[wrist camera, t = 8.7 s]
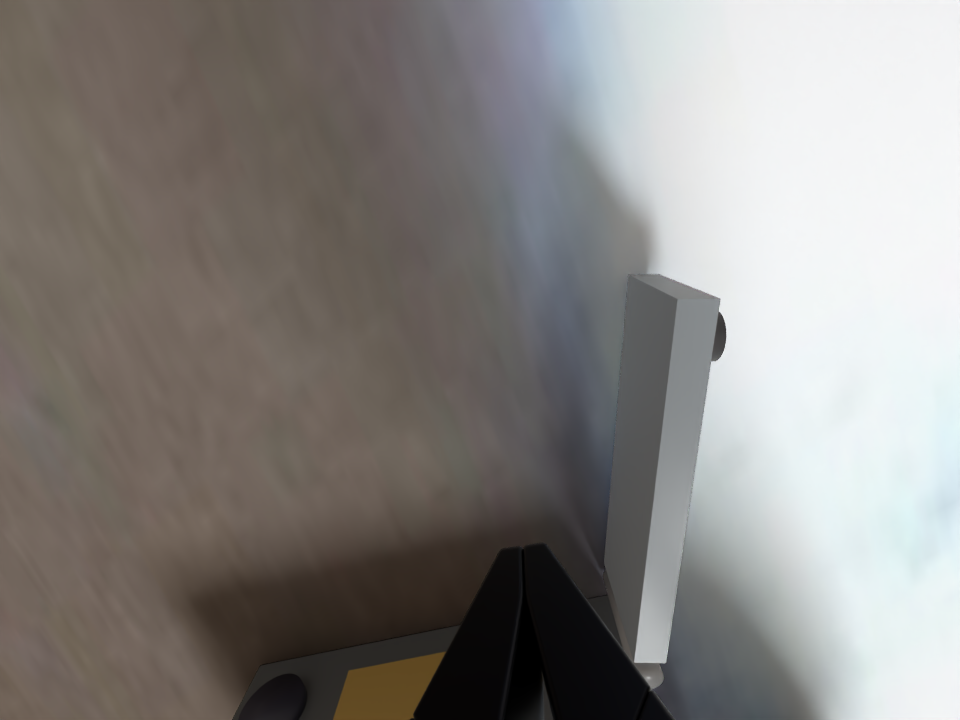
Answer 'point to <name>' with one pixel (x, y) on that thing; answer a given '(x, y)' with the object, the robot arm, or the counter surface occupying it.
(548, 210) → the counter surface
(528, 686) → the robot arm
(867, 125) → the counter surface
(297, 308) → the counter surface
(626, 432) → the side door
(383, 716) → the gray rectangular box
